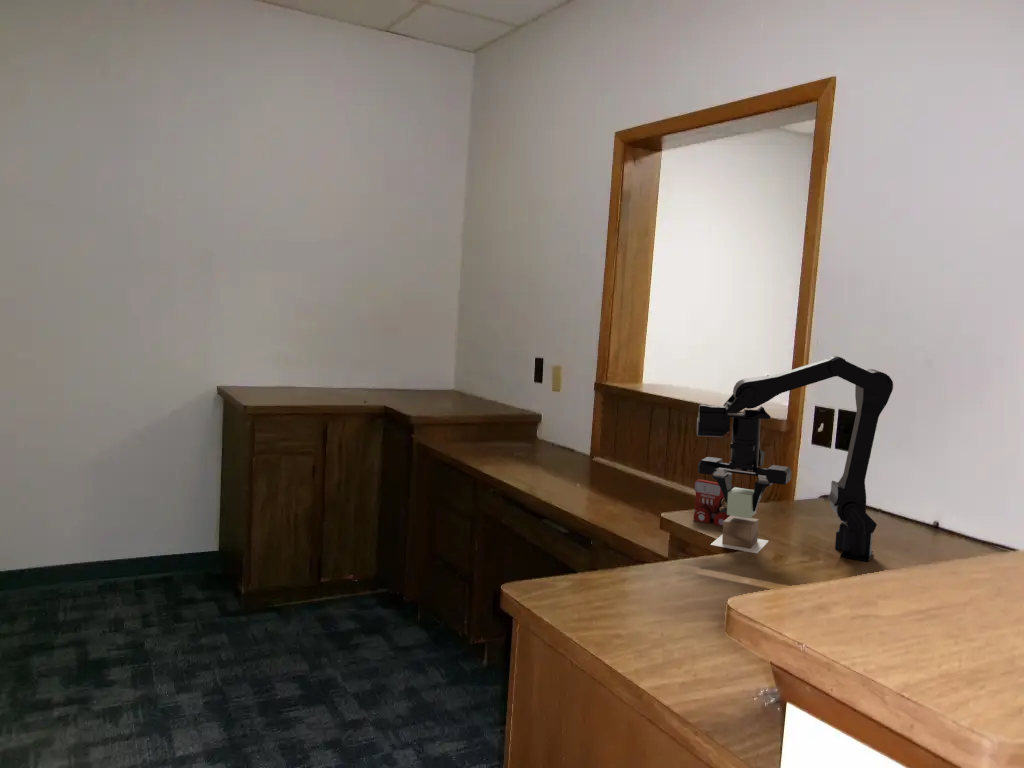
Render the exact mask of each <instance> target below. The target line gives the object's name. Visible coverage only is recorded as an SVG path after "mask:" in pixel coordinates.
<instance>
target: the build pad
mask: <svg viewBox="0 0 1024 768" xmlns="http://www.w3.org/2000/svg"><path fill="white" fill-rule="evenodd" d="M722 539H723V533H722V534H720V536H718V537H717V538H716V539H715V540H714V541H713V542H711V544H710V546H714V547H720V548H726V549H731V550H737V551H741V552H748V553H753V554H759V553H760V551H761V550H762V549H763V548H764V547H765V546H766V545H767V544H768V542H769V540H768V539H767V540H766V539H762V538H758V540H757V542H756V543H755V544H754V545H753V547H752V548H751V549H748V548H743V547H737V546H732V545H726V544H722Z"/></svg>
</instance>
